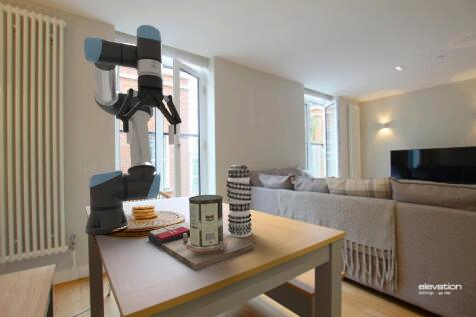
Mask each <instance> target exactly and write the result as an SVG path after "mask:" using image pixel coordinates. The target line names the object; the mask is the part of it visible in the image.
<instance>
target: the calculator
mask: <svg viewBox="0 0 476 317" xmlns="http://www.w3.org/2000/svg"><path fill="white" fill-rule="evenodd" d="M184 233H187V237H190V222H188V221H187V222H186V221H185V222H181V223H178V224H172V225H169V226H165V227H161V228H158V229H154V230H151V231H149V232H148V233H147V237H148V242H150V243H152V244H153V245H155V246H157V247H158V248H160V249H162V244H163V243H167V242H171V241H175V240H178V239H182V238H183V234H184ZM162 250H163V249H162Z"/></svg>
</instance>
